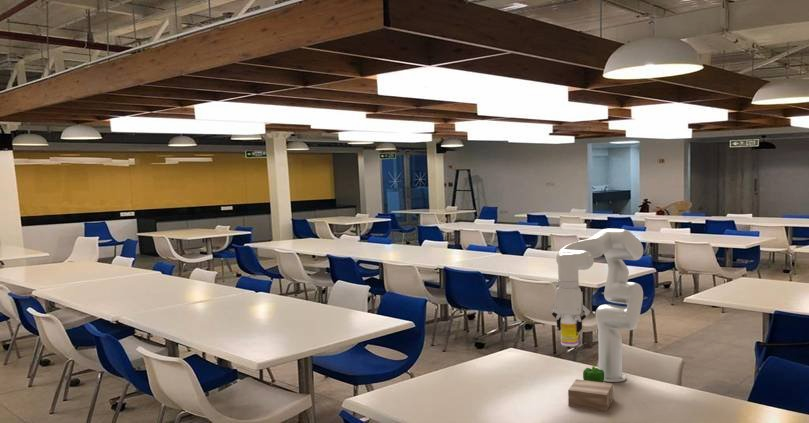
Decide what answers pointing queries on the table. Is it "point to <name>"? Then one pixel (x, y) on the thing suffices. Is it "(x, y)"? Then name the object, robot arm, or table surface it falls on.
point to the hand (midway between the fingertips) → (569, 330)
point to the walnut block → (590, 394)
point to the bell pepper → (593, 374)
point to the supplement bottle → (569, 330)
